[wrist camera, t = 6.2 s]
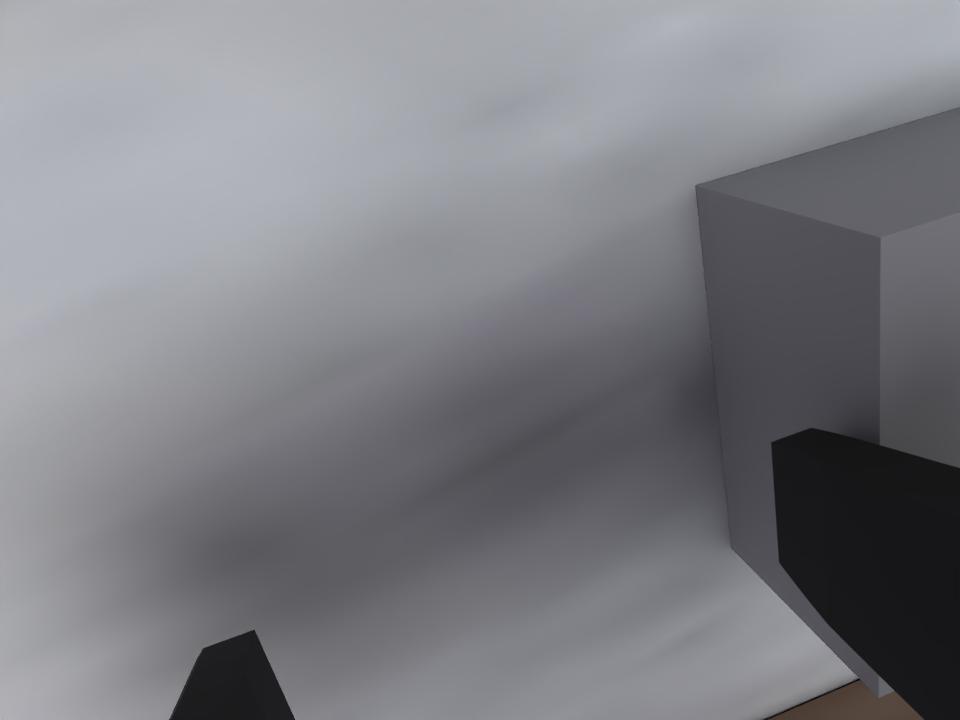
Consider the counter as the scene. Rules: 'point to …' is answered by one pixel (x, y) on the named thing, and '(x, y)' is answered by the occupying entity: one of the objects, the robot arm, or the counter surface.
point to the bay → (853, 706)
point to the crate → (833, 318)
